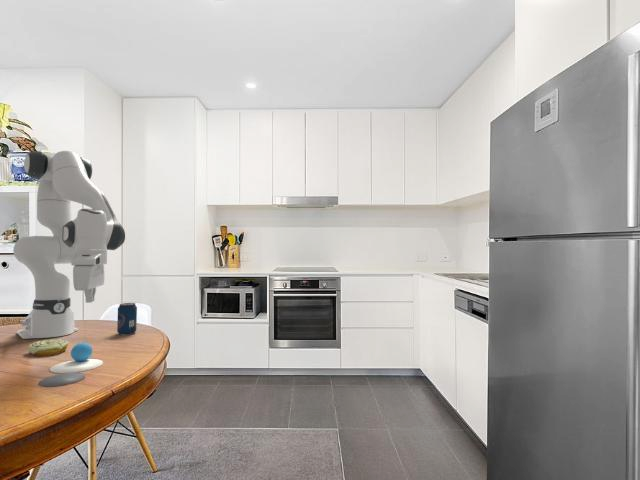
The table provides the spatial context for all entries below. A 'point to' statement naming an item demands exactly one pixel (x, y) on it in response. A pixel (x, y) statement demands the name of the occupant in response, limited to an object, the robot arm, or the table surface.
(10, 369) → the table surface
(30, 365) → the table surface
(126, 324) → the soda can
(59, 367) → the disc
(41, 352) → the decorated donut
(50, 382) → the disc
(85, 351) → the ball
